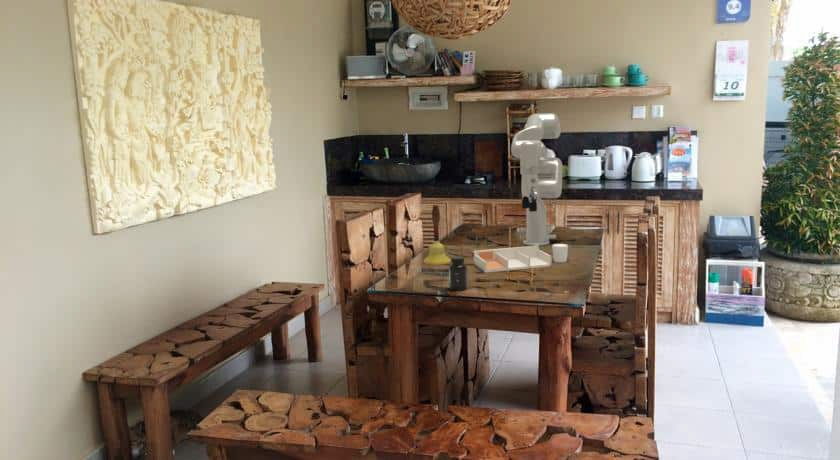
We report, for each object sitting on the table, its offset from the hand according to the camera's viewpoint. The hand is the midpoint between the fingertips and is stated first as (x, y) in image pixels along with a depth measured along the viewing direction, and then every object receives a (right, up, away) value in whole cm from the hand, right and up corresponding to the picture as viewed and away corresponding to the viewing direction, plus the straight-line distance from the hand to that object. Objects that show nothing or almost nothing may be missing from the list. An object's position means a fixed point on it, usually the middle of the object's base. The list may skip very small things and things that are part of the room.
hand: (529, 209), depth 310 cm
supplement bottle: (-33, -31, -39) cm, 60 cm away
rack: (-8, -24, -7) cm, 26 cm away
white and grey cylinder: (+13, -22, -2) cm, 26 cm away
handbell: (-40, -23, +6) cm, 46 cm away
